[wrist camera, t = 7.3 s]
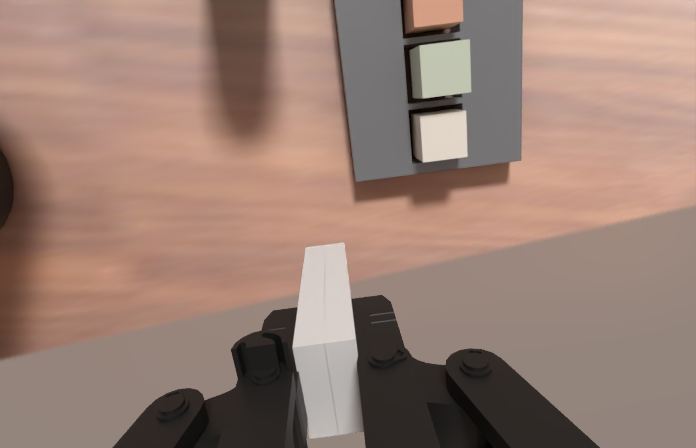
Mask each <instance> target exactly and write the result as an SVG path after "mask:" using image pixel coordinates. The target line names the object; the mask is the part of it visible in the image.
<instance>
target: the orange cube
mask: <svg viewBox="0 0 696 448" xmlns="http://www.w3.org/2000/svg"><path fill="white" fill-rule="evenodd" d="M403 9H404V23H405V34H411V33H419V32H427V31H435V30H443V29H450V28H452V27H453V26H455V25H457V24H459V23H461V22H463V0H403Z"/></svg>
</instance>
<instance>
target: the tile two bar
mask: <svg viewBox="0 0 696 448" xmlns="http://www.w3.org/2000/svg"><path fill="white" fill-rule="evenodd" d="M410 63H411V78H412V92H413V98H430V97H438V96H446V95H454V94H462V93H470V92H471V61H470V39H467V40H459V41H451V42H443V43H435V44H427V45H419V46H417V47H416V48H414V49H412V50H410Z"/></svg>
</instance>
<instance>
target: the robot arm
mask: <svg viewBox="0 0 696 448" xmlns="http://www.w3.org/2000/svg"><path fill="white" fill-rule="evenodd" d="M12 199H13V185H12V178H11V174H10V170H9V167H8V164H7V162H6V160H5V158H4V156H3V154H2V152H1V150H0V228H1V227H2V225H3V224H4V222H5V221H6V219H7V217H8V215H9V212H10V209H11V205H12ZM231 352H232V356H233V360H234V364H235V368H236V372H237V376H238V381H237V384H236V387H235V388H234V389H232V390H230V391H228V392H226V393H224V394H221V395H219V396H216V397H213V398H210V399H208V400H204V397H203V395H202V394H201V393H200V392H199V391H198V390H195V389H191V388H186V389H178V390H175V391H172V392H169V393H167V394H165V395H163V396H162V397H160V398H158V399H157V400H155V401H154V402H153V403H152V404H151V405H150V406H149V407H147V408H146V410H145V411H144V412H143V413H142V414H141V415H140V416H139V418H138V419H137V420H136V421H135V422H134V424H133V425H132V426H131V427H130V428H129V429H128V431H127V432H126V433H125V434H124V435H123V436H122V437H121V439H120V440H119V441H118V442H117V443H116V444H115V446H114V447H113V448H308V446H307V441H306V438H307V427H308V432H309V438H310V439H312V438H320V437H328V436H335V435H342V434H350V433H357V432H364V435H365V445H366V448H600V447H599V446H598V445H596V444H595V443H594V442H593V441H592V440H591V439H590V438H589V437H588V436H587V435H585V434H584V433H583V432H582V431H581V430H580V429H579V428H578V427H577V426H575V425H574V424H573V423H572V422H571V421H570V420H569V419H568V418H567V417H565V416H564V415H563V414H562V413H561V412H560V411H559V410H558V409H557V408H555V407H554V406H553V405H552V404H551V403H550V402H549V401H548V400H547V399H546V398H545V397H543V396H542V395H541V394H540V393H539V392H538V391H537V390H536V389H534V388H533V387H532V386H531V385H530V384H529V383H528V382H527V381H526V380H525V379H523V378H522V377H521V376H520V375H519V374H518V373H517V372H516V371H515V370H514V369H512V368H511V367H510V366H509V365H508V364H507V363H506V362H505V361H504V360H502V359H501V358H500V357H498V356H497V355H495V354H494V353H492V352H488V351H485V350H482V349H464V350H459V351H457V352H455V353H453V354H452V355H450V357H449V358H448V359H447V360H446V365H437V364H429V363H424V362H422V361H418V360H416V359H415V358H413V357H412V356H411V354H410V353H409V351H408V350H407V349H406V348H405V347H404V344H403V340H402V337H401V334H400V330H399V327H398V324H397V321H396V317H395V314H394V311H393V308H392V304H391V302H390V301H389V300H388V299H386V298H385V297H384V296H382V295H378V296H371V297H363V298H356V299H352V297H351V290H350V282H349V274H348V267H347V259H346V251H345V244H344V243H336V244H328V245H321V246H313V247H306V250H305V257H304V265H303V272H302V280H301V287H300V295H299V302H298V307H297V308H289V309H282V310H274V311H272V312H271V313H270V315H269V316H268V317H267V318H266V319H265V320H264V323H263V327H262V331H259V332H254V333H251V334H249V335H247V336H245V337H243V338H241V339H240V340H239V341H237V342H236V343H235V344H234V346H233V347H232V349H231Z"/></svg>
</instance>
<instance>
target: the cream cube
mask: <svg viewBox="0 0 696 448" xmlns="http://www.w3.org/2000/svg"><path fill="white" fill-rule="evenodd" d="M411 121H412V135H413V149H414V156H415V157H416V158H417V159H419V160H420V161H422V162H423V163H424V162H432V161H439V160H447V159H455V158H463V157H468V153H467V121H466V110H458V109H448V110H440V111H432V112H424V113H416V114H411Z"/></svg>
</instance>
